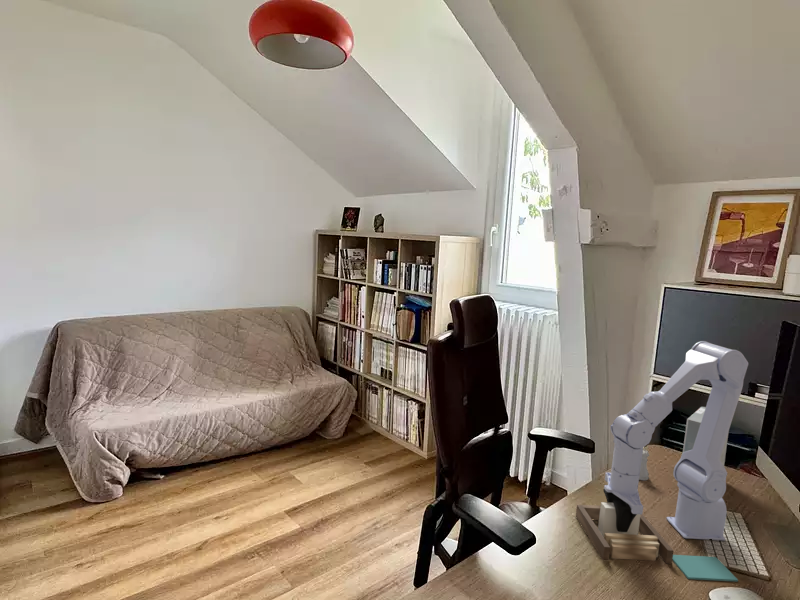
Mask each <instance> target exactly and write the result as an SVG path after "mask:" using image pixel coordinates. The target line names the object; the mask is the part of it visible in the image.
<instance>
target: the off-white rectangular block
mask: <svg viewBox="0 0 800 600" xmlns="http://www.w3.org/2000/svg"><path fill="white" fill-rule="evenodd" d="M600 506H601V507H600V516H599V520H598V523H597V524H598V525H597V528H598V530H599V531H600V533H601V534H602V536H603V537H604V534H605V533H615V534H635V535H639V523H640V515H641V514H637V515H636V516H635V517H634V519H633V521H632V523H631V525H630V527H629V529H628V531H627V532H618V531H617V528H616V510H615V506H614V503H607V501H606V502H603V501H602V502H600Z"/></svg>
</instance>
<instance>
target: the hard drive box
mask: <svg viewBox="0 0 800 600" xmlns="http://www.w3.org/2000/svg"><path fill="white" fill-rule="evenodd" d="M705 408H706V406H700V407H699V408H698V409H697V410H696V411H695V412H693V414H691V415H690V416H689V417H688V418H686V424H685V434H684V441H683V448H682V453H683V452H686V451H689V450H692V449H693V447H694V443H695V440H696V437H697V434H698V431H699V427H700V424H701V421H702V418H703V415H704V412H705ZM729 432H730V430H729V431H728V434H727V437H726V441H725V444H724V447H723V450H722V453H721V456H720V461H721V462H722V464H723V466H724V467H725V462H726V453H727V446H728V445H727V444H728V440H729V439H728V438H729Z"/></svg>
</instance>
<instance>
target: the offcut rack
mask: <svg viewBox="0 0 800 600" xmlns="http://www.w3.org/2000/svg"><path fill="white" fill-rule="evenodd" d="M600 507H601V505H593V504H576V511H575V518H576V517H577V518H576V519H577V521H578V520H579V521H578V523H579V522H580V523H581V524H580V523H579V524H580V526H581V525H582V526H581V527H582V529H583V531H584V530H585V531H584V532H585V534H586V535H588V536H587V537H588V539H589V541H590V542H591V543H592V545H593V547H594V548H595V550H596V552H597V553H598V554H599V557H600V558H601V560H602V561H610V546H609V545H608V543H607V542H606V540H605V539H604V537H603V536H602V534H601V533H600V531H599V530H598V526H597V525H596V524H595V522H594V521H599V516H600ZM592 519H594V520H592ZM638 532H640V533H641V535H654V536H656V537H657V538H658V541H657V542H658V543H659V551H658V556H659V557H660V558H661V559H662V561H664V563H665V564H666V565H667V564H669V565H672V564H673V560H672V558H673V555H674V551H675V550H674V549H673V547H671V545H670V544H669V543H668V542H667V541H666V540H665V539H664V538H663V537H662V535H661V534H660V533H659V532H658V530H656V528H655V527H654V526H653V525H652V523H650V521H649V520H648V519H647V518H646V516H645V515H644V514H643V513H642V514H641V515H640V523H639V530H638Z"/></svg>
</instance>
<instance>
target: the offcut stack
mask: <svg viewBox="0 0 800 600" xmlns="http://www.w3.org/2000/svg"><path fill="white" fill-rule="evenodd" d="M604 539H605V540H606V542H607V543H608V545H609V546H610V554H609V557H610V558H611V559H614V560H615V559H616V560H617V559H618V560H620V559H622V560H636V561H654V562H655V561H656V559H657V558H658V556H659V554H658V551H659V543H658V542H657V541H658V538H657V537H656V536H654V535H643V534H638V535H635V534H615V533H605V534H604Z"/></svg>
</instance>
